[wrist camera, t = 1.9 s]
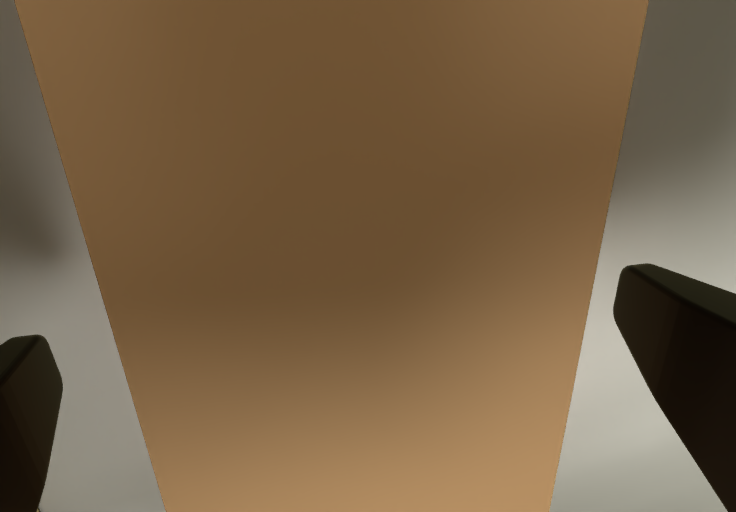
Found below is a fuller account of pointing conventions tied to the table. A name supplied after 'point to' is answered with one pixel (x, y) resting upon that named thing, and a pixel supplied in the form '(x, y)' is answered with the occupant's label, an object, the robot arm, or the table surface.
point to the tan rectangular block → (343, 234)
